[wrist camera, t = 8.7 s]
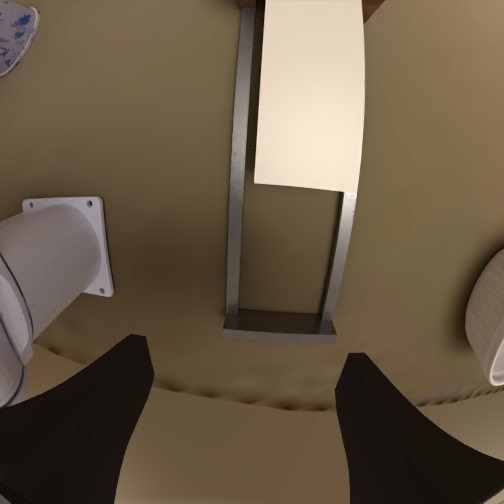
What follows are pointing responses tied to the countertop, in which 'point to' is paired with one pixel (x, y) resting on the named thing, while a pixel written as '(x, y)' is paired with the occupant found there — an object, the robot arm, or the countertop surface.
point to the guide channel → (239, 320)
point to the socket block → (369, 3)
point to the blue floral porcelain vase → (15, 33)
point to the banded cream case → (311, 94)
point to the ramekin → (488, 319)
